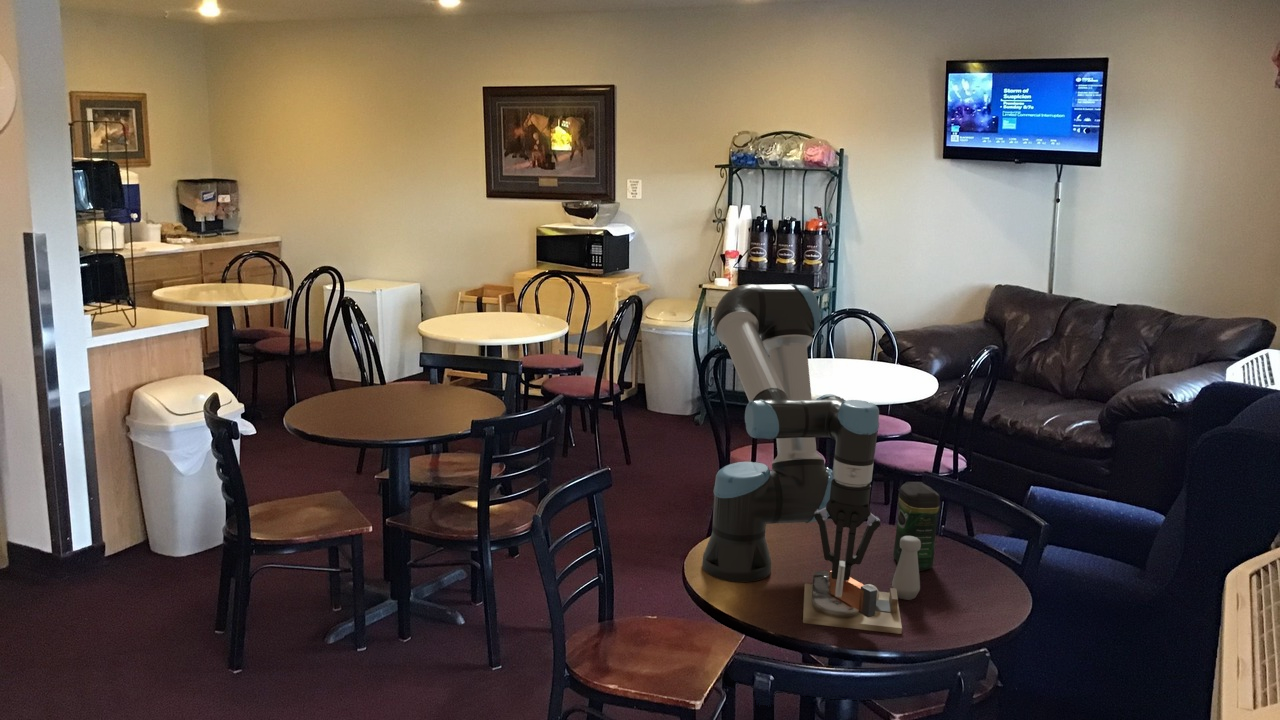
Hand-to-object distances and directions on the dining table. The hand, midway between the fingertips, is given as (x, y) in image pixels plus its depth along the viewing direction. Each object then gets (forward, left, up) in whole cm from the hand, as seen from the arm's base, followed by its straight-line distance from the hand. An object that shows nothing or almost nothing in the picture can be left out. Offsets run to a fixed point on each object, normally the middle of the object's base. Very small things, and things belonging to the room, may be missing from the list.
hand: (838, 594), depth 206 cm
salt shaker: (+14, +16, -6) cm, 22 cm away
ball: (+6, +7, -4) cm, 10 cm away
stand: (+3, +6, -6) cm, 9 cm away
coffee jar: (+17, +34, -6) cm, 38 cm away
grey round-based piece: (+1, +2, -4) cm, 5 cm away
